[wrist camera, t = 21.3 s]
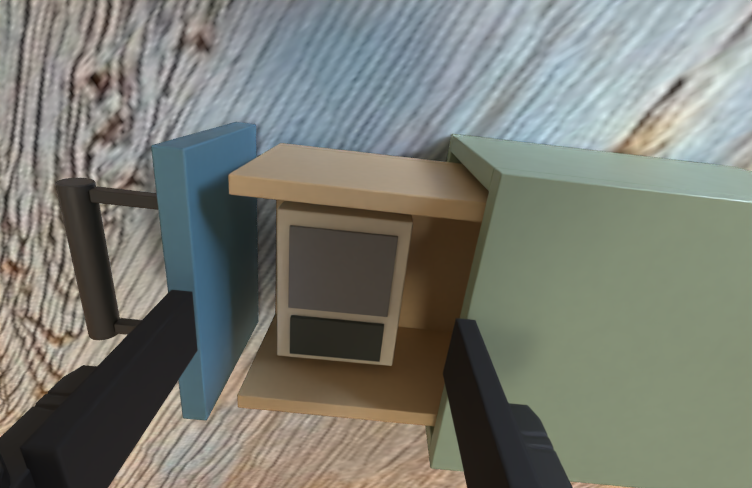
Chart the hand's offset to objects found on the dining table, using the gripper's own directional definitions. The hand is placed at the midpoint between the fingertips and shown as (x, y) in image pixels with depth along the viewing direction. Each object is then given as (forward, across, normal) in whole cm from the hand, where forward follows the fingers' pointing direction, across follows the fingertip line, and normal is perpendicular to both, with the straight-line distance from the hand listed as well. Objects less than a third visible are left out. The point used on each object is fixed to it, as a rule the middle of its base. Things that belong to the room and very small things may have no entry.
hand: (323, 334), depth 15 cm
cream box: (+9, 0, 0) cm, 9 cm away
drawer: (+10, +2, 0) cm, 10 cm away
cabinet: (+11, -14, 0) cm, 18 cm away
